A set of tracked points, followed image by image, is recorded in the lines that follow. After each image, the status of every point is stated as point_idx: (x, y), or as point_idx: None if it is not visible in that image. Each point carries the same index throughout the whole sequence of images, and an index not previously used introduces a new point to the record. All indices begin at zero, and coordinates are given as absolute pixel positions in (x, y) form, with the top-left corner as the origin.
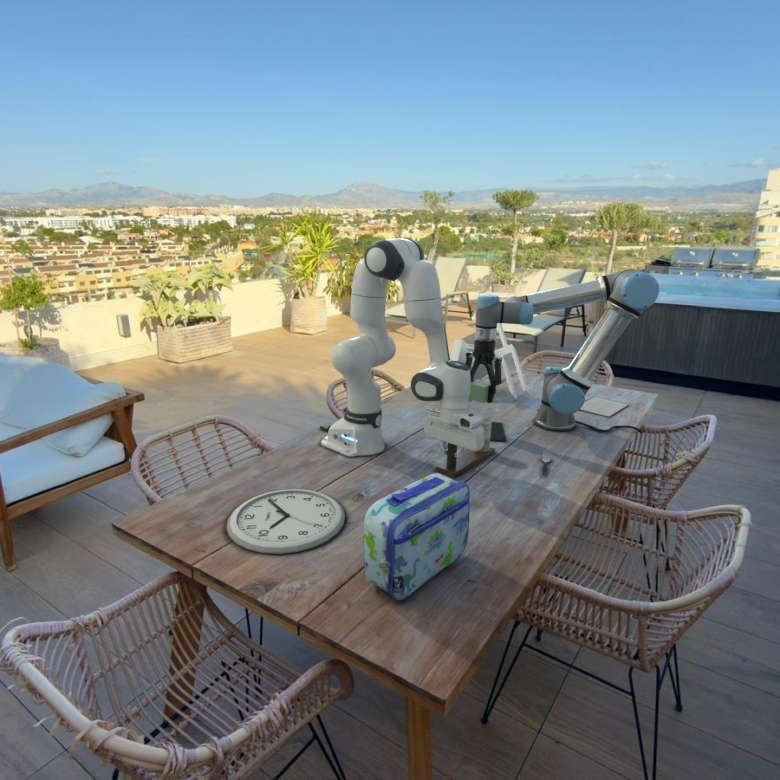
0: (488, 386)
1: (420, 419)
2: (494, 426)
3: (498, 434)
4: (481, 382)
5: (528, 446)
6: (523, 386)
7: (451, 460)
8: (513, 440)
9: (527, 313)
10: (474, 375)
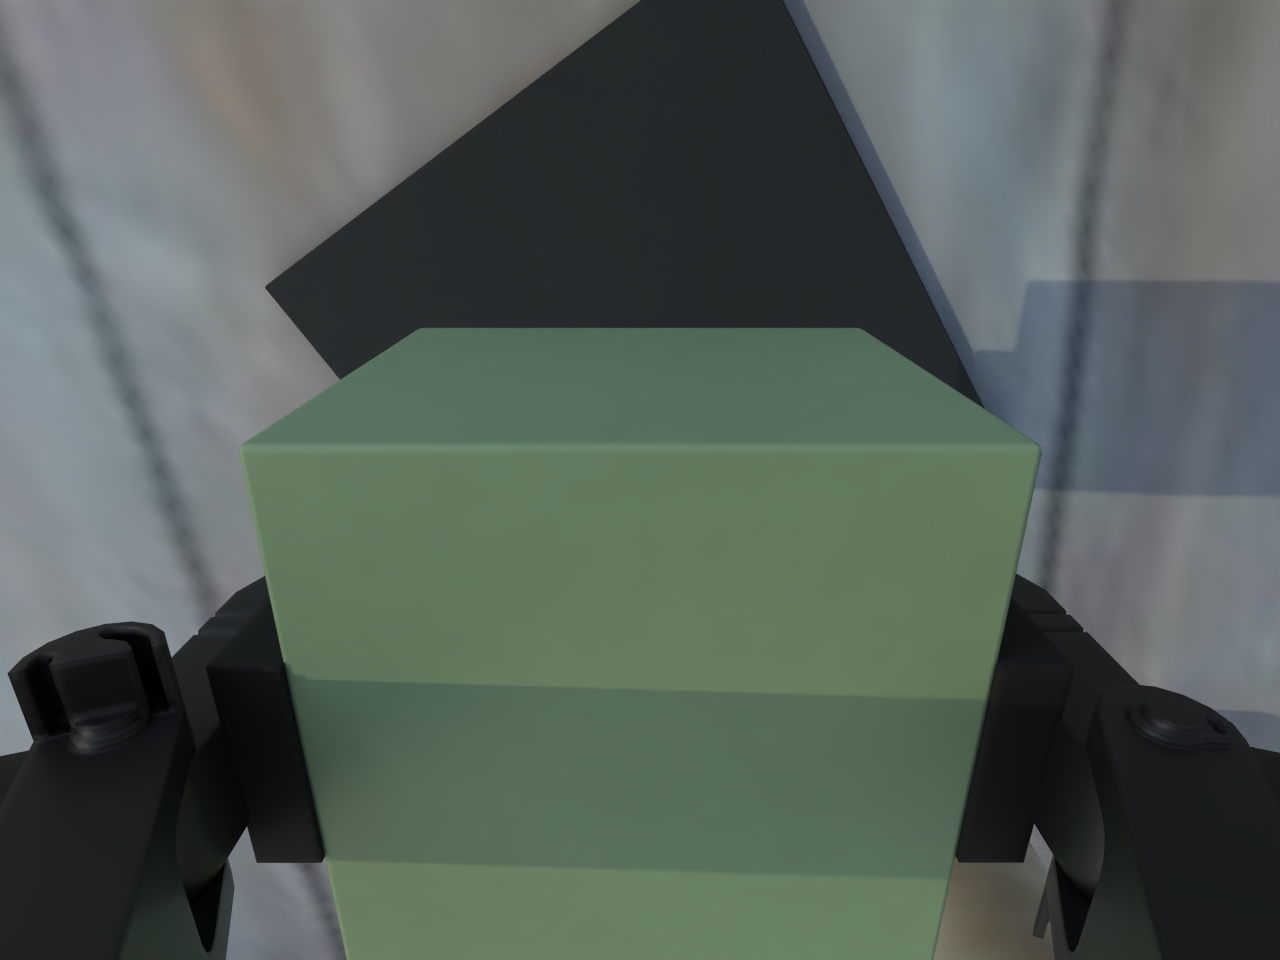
0: (950, 849)
1: (9, 490)
2: (744, 146)
3: None
4: (599, 717)
5: (1240, 386)
6: None
7: None
8: (1062, 346)
9: None
10: (154, 823)
